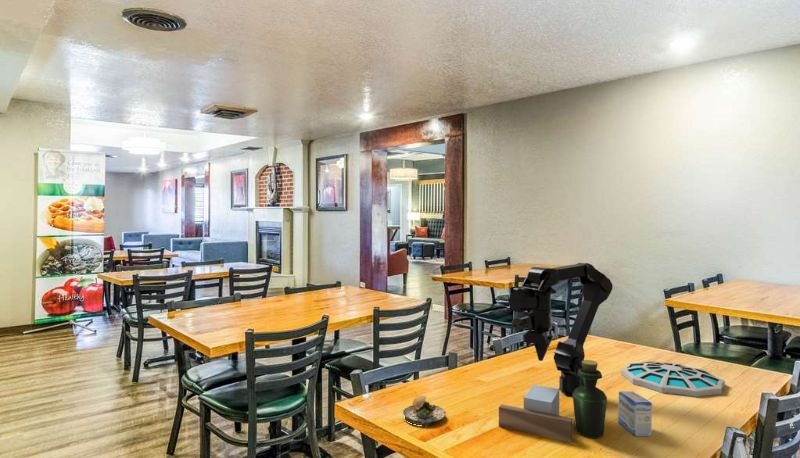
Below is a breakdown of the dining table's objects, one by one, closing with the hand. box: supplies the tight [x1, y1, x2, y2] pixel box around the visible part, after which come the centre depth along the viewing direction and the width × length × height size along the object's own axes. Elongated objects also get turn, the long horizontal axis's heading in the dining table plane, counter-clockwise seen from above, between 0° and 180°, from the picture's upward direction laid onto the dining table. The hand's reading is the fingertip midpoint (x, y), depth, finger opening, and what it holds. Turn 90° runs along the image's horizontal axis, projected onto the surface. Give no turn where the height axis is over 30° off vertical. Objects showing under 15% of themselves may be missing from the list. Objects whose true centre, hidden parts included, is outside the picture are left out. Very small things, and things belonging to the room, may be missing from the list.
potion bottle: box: [572, 359, 608, 439], centre depth 116 cm, size 8×8×18 cm
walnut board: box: [498, 404, 574, 443], centre depth 117 cm, size 2×18×5 cm, turn 60°
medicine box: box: [617, 390, 653, 437], centre depth 118 cm, size 8×4×9 cm, turn 5°
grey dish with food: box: [402, 392, 447, 427], centre depth 126 cm, size 12×12×8 cm
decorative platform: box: [620, 360, 726, 398], centre depth 156 cm, size 31×29×5 cm
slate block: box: [523, 384, 560, 415], centre depth 122 cm, size 11×7×8 cm, turn 151°
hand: (540, 360), depth 138 cm, fingers closed
